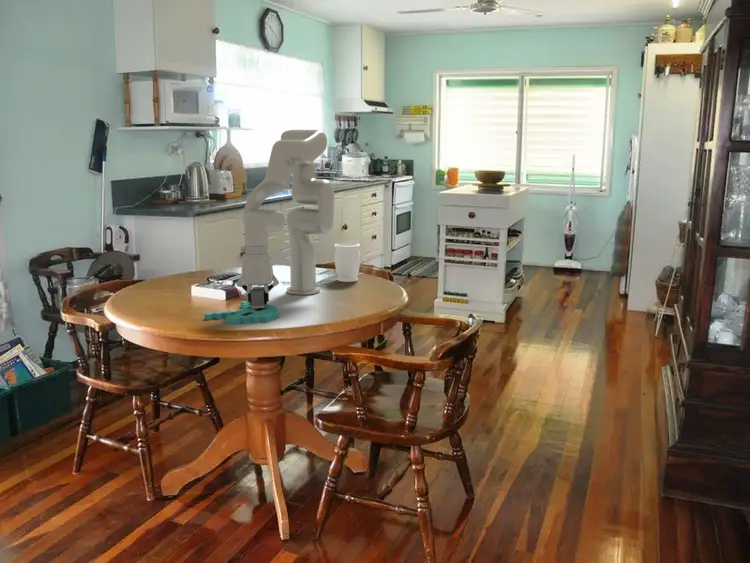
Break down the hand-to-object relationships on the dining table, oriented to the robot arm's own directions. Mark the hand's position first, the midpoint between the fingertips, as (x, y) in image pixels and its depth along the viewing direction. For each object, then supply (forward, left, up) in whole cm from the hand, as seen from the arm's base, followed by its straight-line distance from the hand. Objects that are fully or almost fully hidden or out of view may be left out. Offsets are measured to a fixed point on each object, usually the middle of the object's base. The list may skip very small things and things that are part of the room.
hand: (258, 303), depth 228 cm
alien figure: (+5, -3, -4) cm, 7 cm away
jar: (-50, +30, -3) cm, 59 cm away
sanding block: (0, 0, -1) cm, 1 cm away
